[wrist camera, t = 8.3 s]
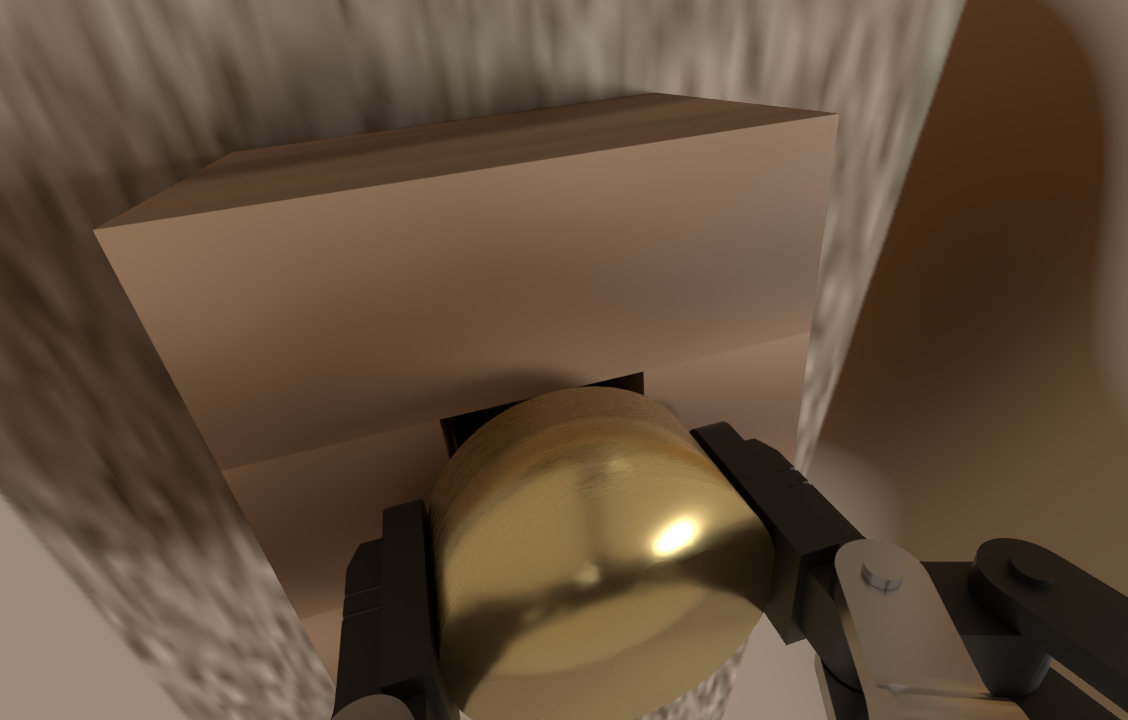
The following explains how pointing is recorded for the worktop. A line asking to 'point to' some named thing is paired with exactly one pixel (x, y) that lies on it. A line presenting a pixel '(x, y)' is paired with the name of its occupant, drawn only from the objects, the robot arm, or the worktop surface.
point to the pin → (588, 560)
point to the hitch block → (472, 297)
